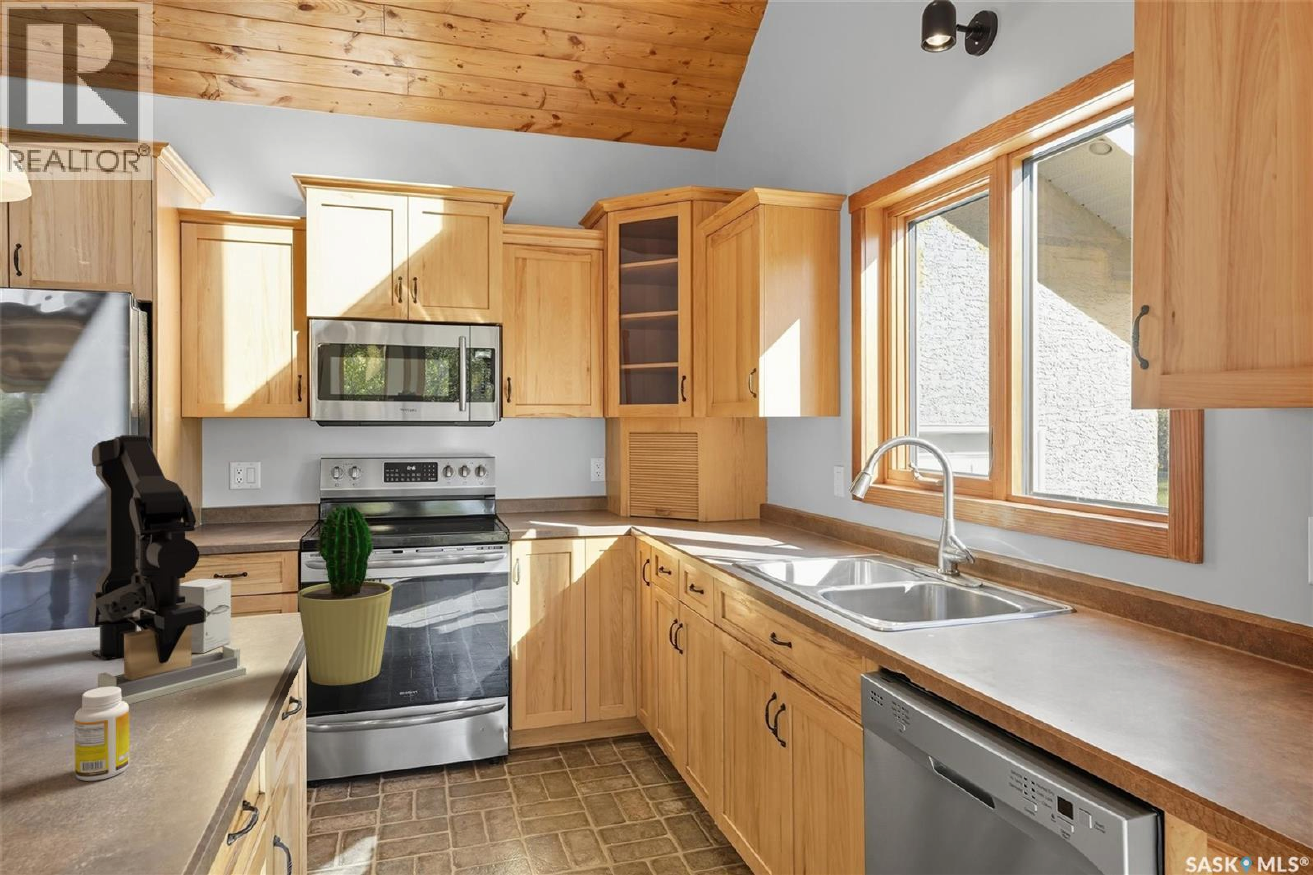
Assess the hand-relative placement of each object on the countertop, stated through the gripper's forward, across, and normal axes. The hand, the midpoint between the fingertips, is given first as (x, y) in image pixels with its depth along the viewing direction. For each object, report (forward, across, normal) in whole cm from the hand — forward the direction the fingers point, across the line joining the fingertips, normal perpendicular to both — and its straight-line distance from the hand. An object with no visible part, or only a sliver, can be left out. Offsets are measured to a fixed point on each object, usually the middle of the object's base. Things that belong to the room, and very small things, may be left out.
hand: (159, 661), depth 127 cm
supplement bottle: (+5, +27, -18) cm, 33 cm away
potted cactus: (+5, +18, +22) cm, 29 cm away
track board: (+4, 0, +2) cm, 5 cm away
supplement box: (+5, -18, +15) cm, 24 cm away
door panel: (+2, 0, 0) cm, 2 cm away
